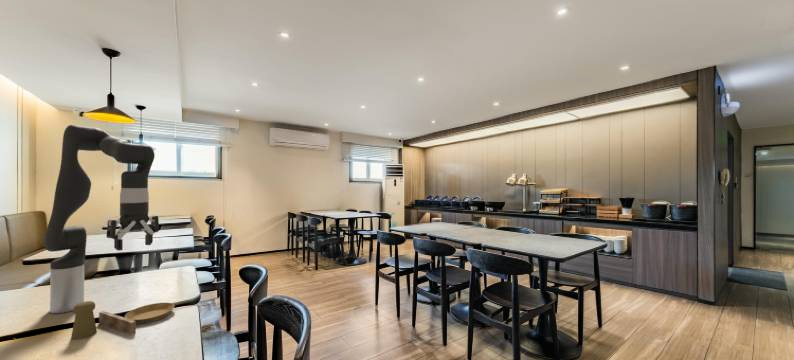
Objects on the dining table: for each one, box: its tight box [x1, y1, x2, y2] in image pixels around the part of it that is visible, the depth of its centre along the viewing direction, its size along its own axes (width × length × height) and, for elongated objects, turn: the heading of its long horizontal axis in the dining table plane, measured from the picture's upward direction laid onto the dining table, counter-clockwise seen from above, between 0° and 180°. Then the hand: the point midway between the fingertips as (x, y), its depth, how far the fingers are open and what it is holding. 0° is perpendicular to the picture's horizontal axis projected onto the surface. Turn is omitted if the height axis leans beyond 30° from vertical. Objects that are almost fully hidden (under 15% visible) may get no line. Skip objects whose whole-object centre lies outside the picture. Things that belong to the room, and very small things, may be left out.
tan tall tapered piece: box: [70, 300, 97, 341], centre depth 101 cm, size 6×6×11 cm
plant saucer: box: [124, 302, 175, 324], centre depth 115 cm, size 15×15×3 cm
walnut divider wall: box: [98, 310, 137, 335], centre depth 106 cm, size 20×1×4 cm, turn 68°
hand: (134, 247), depth 104 cm, fingers open, 8 cm apart
